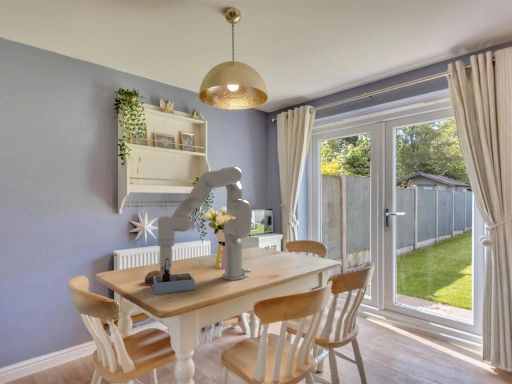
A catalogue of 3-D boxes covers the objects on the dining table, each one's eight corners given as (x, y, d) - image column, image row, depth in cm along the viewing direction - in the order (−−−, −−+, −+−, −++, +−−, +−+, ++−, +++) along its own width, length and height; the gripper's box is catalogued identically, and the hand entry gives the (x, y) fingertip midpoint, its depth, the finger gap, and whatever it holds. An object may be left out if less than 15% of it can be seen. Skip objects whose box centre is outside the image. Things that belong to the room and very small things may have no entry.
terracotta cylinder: (159, 281, 146) (159, 266, 146) (170, 280, 148) (170, 266, 148) (160, 284, 141) (160, 269, 141) (171, 283, 143) (171, 268, 143)
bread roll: (160, 286, 161) (157, 271, 163) (171, 281, 155) (167, 266, 158) (143, 290, 154) (140, 275, 156) (153, 285, 148) (150, 269, 150)
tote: (189, 282, 156) (189, 272, 156) (194, 290, 143) (194, 279, 143) (153, 286, 149) (153, 276, 149) (155, 294, 136) (155, 283, 136)
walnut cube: (177, 285, 149) (177, 274, 149) (187, 283, 151) (187, 273, 151) (178, 288, 145) (178, 277, 145) (189, 286, 146) (189, 276, 146)
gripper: (156, 240, 151) (155, 276, 151) (159, 245, 136) (158, 286, 135) (172, 239, 154) (171, 275, 154) (176, 244, 138) (176, 284, 138)
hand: (165, 280), depth 145 cm, fingers closed on terracotta cylinder, 5 cm apart
